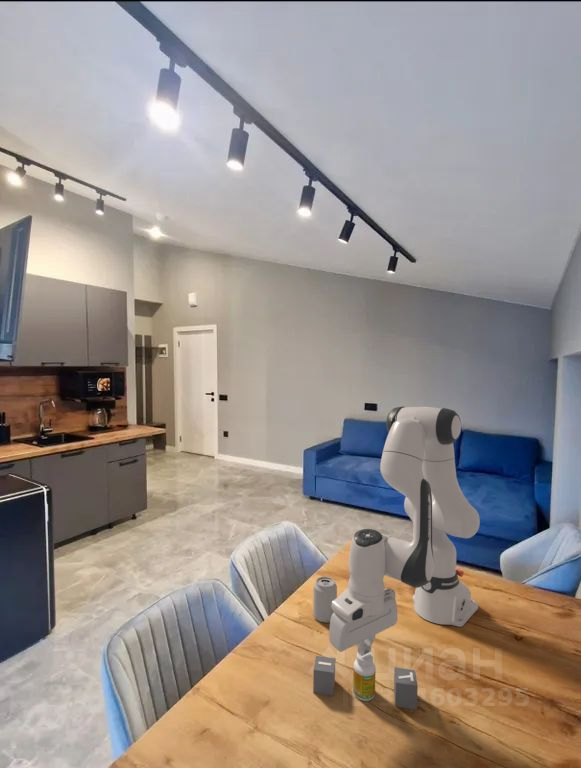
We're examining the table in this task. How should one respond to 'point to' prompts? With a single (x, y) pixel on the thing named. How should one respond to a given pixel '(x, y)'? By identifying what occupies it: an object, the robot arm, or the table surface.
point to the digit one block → (324, 675)
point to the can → (324, 598)
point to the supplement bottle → (364, 677)
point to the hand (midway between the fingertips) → (364, 652)
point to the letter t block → (405, 688)
